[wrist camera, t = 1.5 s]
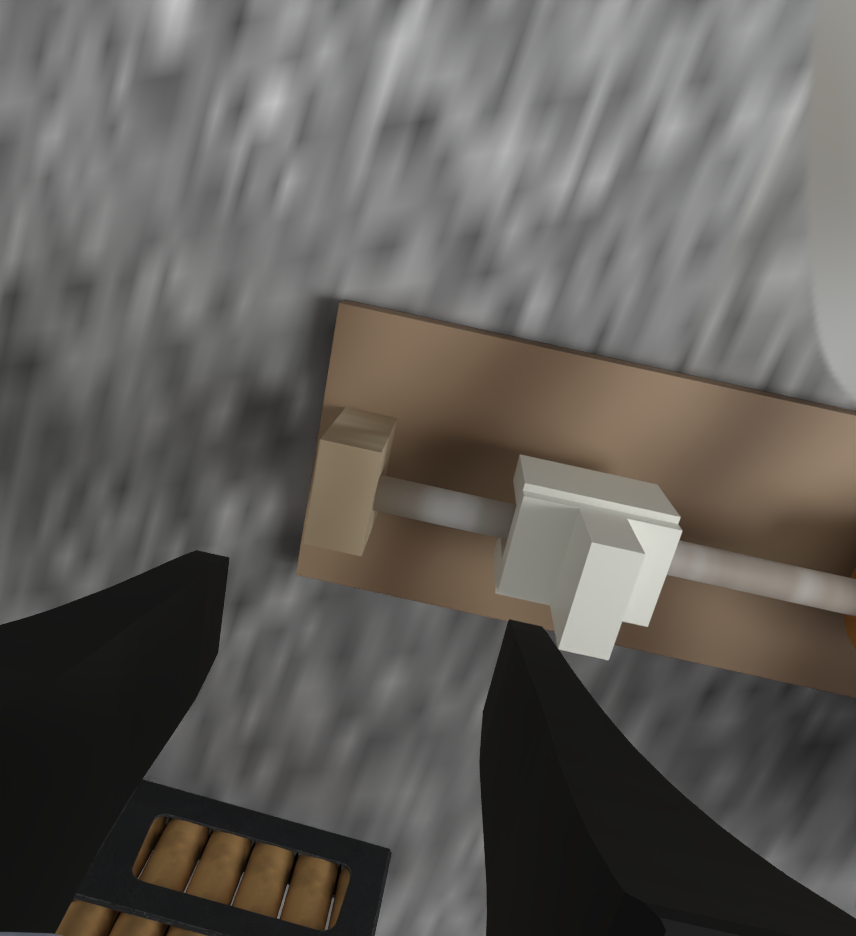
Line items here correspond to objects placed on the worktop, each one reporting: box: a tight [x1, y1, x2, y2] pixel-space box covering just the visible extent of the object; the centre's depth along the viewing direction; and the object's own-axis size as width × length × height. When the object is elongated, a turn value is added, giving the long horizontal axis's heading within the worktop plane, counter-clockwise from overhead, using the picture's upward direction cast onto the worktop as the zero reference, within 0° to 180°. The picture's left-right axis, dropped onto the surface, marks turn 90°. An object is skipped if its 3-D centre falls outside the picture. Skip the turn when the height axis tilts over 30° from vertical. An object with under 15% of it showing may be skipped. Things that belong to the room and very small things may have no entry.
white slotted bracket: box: [494, 454, 682, 660], centre depth 18 cm, size 4×3×5 cm
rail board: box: [296, 300, 856, 698], centre depth 20 cm, size 24×9×5 cm, turn 79°
